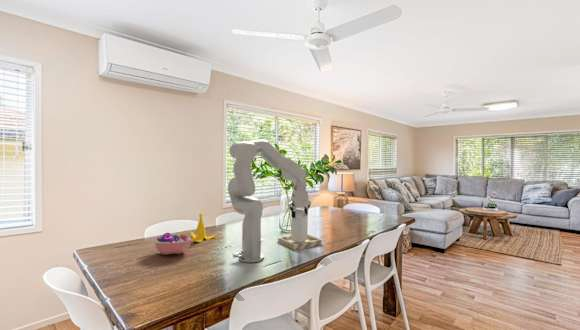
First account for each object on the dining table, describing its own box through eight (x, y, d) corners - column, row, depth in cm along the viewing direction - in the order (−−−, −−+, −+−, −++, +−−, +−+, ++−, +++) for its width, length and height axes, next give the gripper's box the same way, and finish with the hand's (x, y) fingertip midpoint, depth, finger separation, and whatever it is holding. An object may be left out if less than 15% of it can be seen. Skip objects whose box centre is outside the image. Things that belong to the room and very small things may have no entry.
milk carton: (300, 243, 165) (301, 211, 165) (291, 240, 170) (291, 209, 169) (307, 240, 171) (307, 209, 171) (297, 238, 175) (298, 208, 175)
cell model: (180, 260, 141) (180, 238, 141) (145, 257, 145) (145, 236, 145) (198, 250, 158) (198, 230, 157) (166, 247, 162) (166, 228, 161)
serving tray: (294, 250, 158) (294, 245, 158) (277, 242, 172) (277, 237, 172) (321, 244, 169) (321, 239, 169) (303, 237, 184) (303, 232, 184)
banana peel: (192, 245, 167) (192, 217, 166) (189, 236, 184) (189, 211, 184) (220, 241, 174) (220, 214, 173) (215, 234, 191) (215, 209, 190)
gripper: (291, 189, 162) (291, 219, 162) (315, 188, 171) (314, 216, 172) (284, 188, 168) (284, 217, 168) (307, 187, 178) (307, 214, 178)
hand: (299, 216), depth 170 cm, fingers closed on milk carton, 8 cm apart
